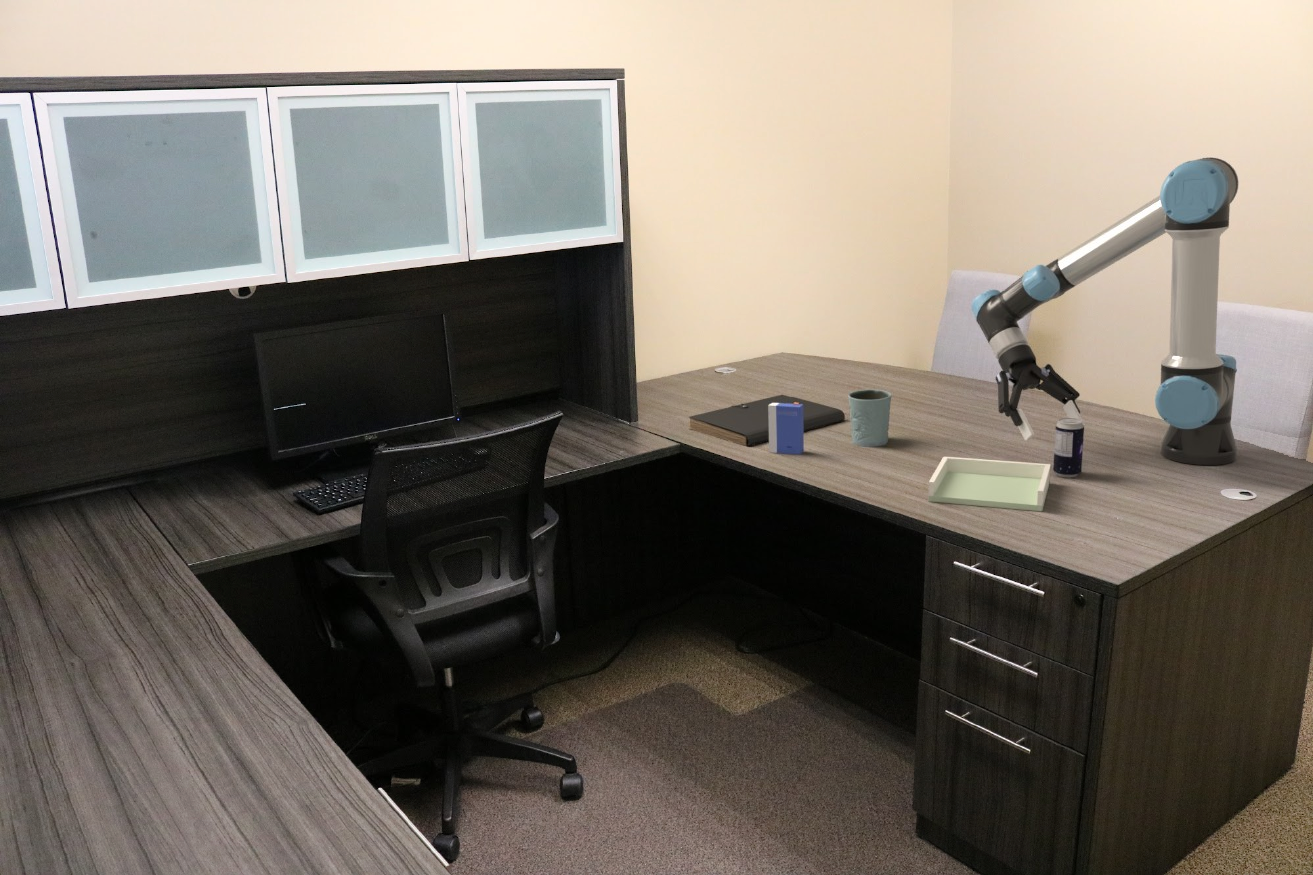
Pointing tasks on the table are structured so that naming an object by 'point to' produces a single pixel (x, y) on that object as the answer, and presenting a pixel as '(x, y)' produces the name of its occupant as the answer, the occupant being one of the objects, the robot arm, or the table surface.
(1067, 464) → the beverage can
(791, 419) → the walkman
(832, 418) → the leather journal
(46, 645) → the table surface
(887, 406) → the embossed teal cup
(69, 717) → the table surface
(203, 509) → the table surface
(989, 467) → the box
